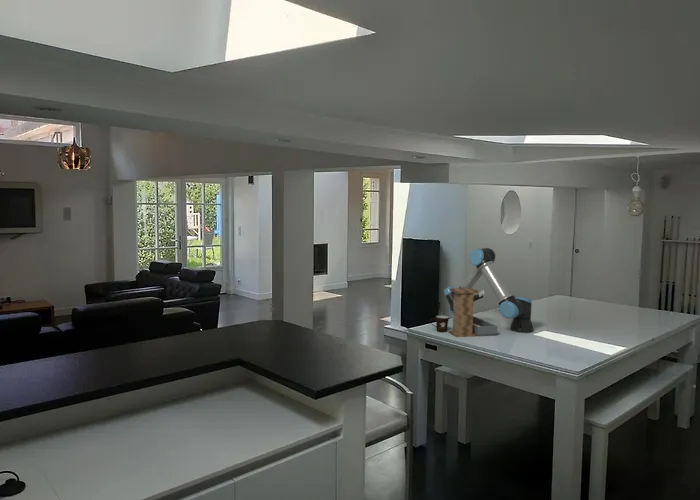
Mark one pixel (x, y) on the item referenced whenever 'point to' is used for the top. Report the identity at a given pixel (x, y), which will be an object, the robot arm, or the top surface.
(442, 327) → the coffee mug
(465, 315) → the stand
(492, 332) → the tray
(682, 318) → the top surface
